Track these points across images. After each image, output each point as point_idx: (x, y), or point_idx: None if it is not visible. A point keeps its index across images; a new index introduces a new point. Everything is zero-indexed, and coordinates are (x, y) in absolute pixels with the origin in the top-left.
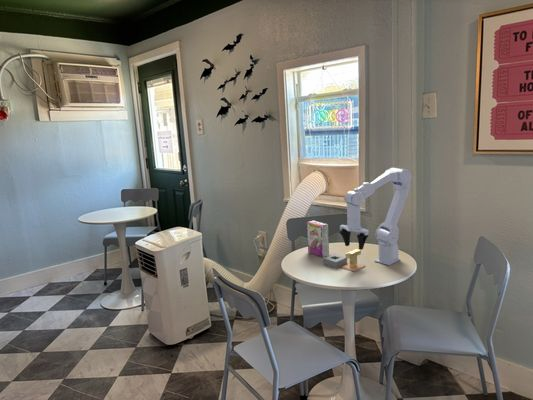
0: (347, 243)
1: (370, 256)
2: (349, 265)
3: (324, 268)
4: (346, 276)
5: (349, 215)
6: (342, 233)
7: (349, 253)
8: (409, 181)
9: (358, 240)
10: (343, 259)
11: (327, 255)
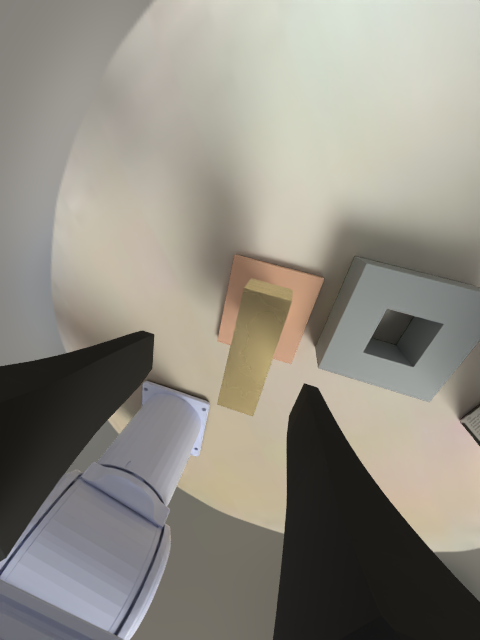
0: (299, 415)
1: (247, 443)
2: (288, 315)
3: (444, 214)
4: (245, 157)
5: None
6: (421, 608)
7: (258, 312)
8: None
9: (48, 380)
10: (332, 336)
11: (470, 414)
